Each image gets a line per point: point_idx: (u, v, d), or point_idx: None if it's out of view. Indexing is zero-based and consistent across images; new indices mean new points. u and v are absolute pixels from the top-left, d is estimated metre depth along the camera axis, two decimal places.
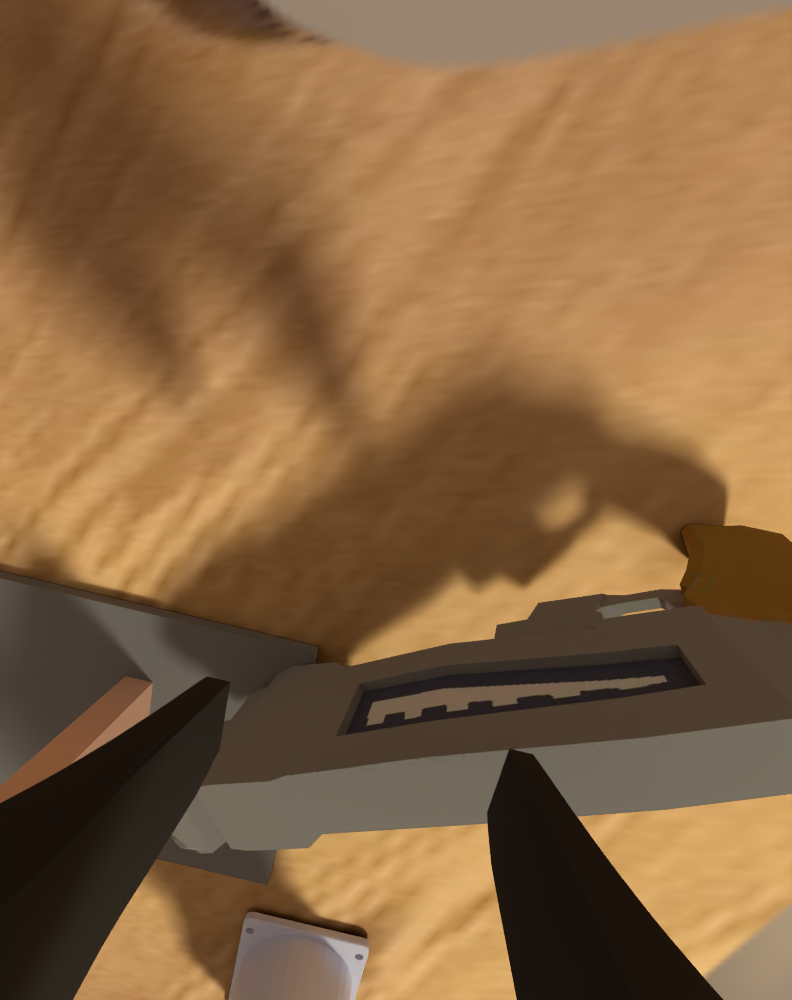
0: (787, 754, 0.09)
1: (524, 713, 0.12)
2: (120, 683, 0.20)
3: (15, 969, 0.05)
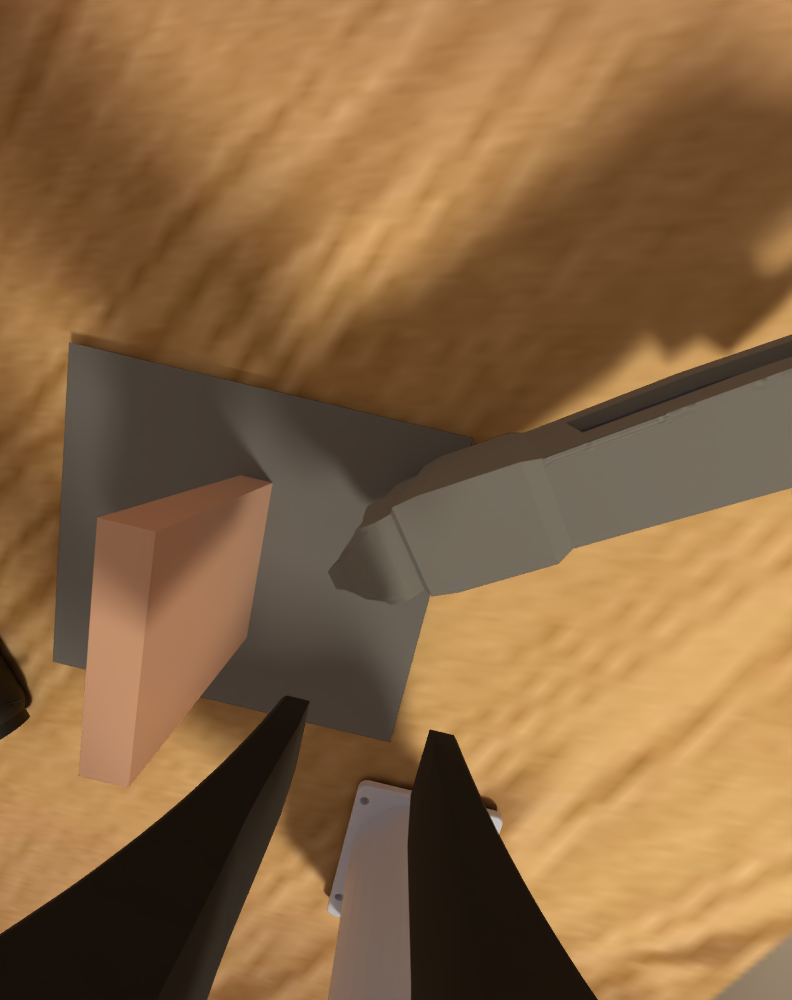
0: None
1: None
2: (237, 477, 0.17)
3: None
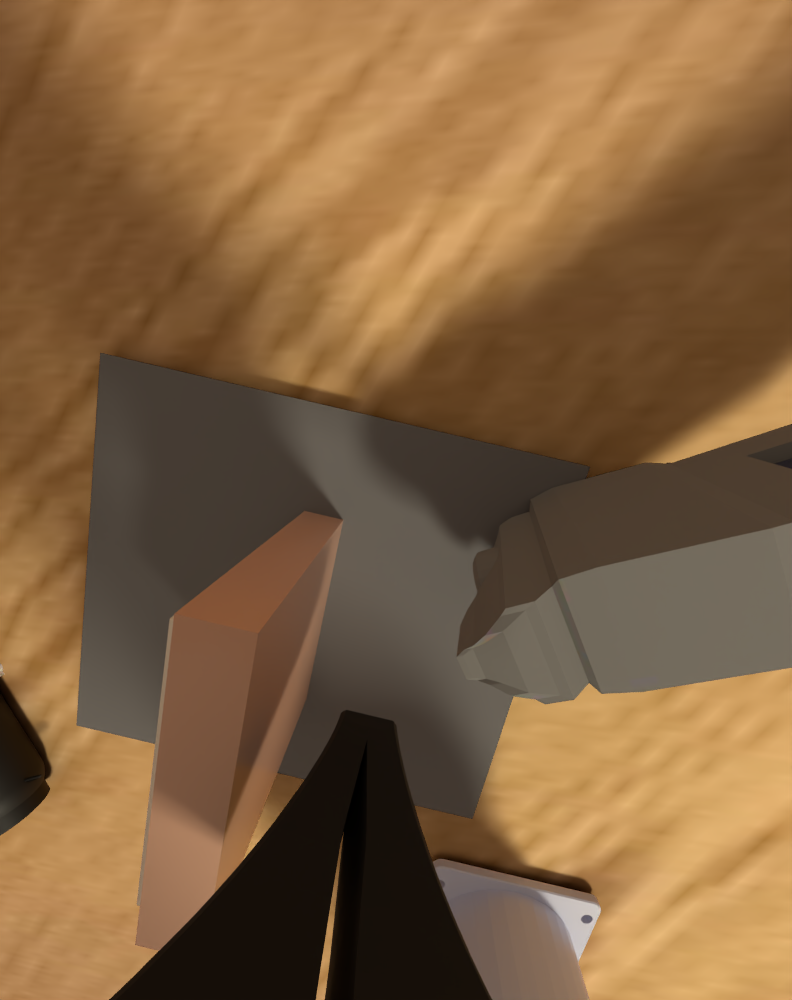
0: None
1: None
2: (303, 515, 0.14)
3: None
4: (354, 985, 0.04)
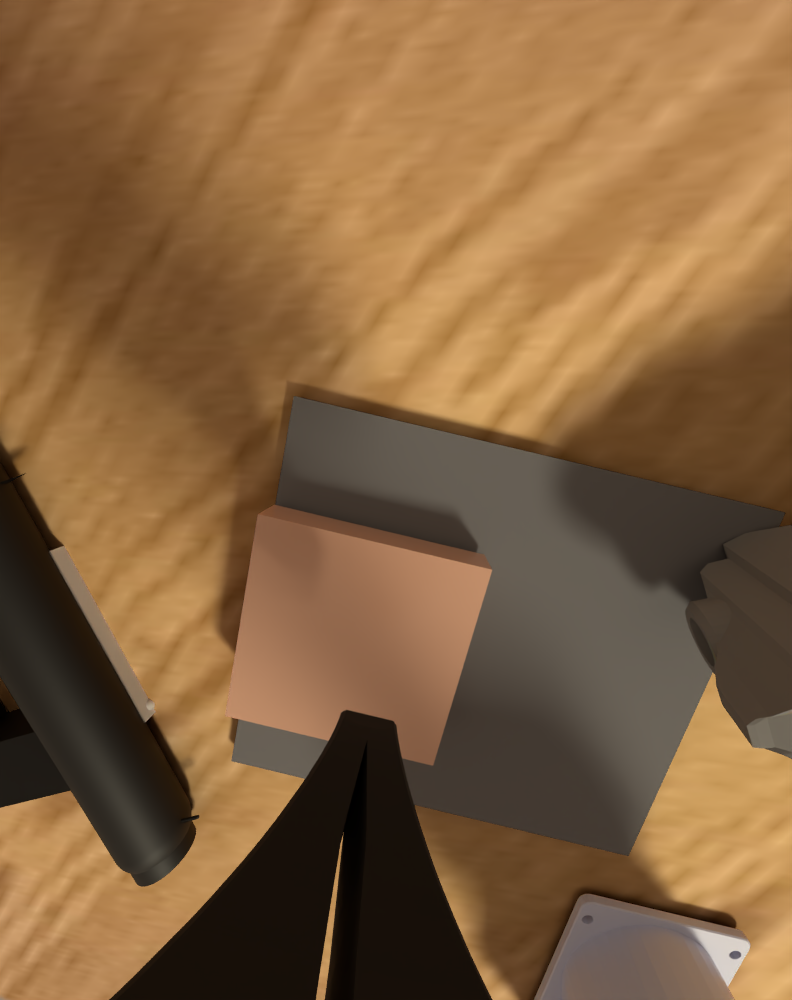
0: None
1: None
2: (470, 552, 0.14)
3: None
4: (354, 985, 0.04)
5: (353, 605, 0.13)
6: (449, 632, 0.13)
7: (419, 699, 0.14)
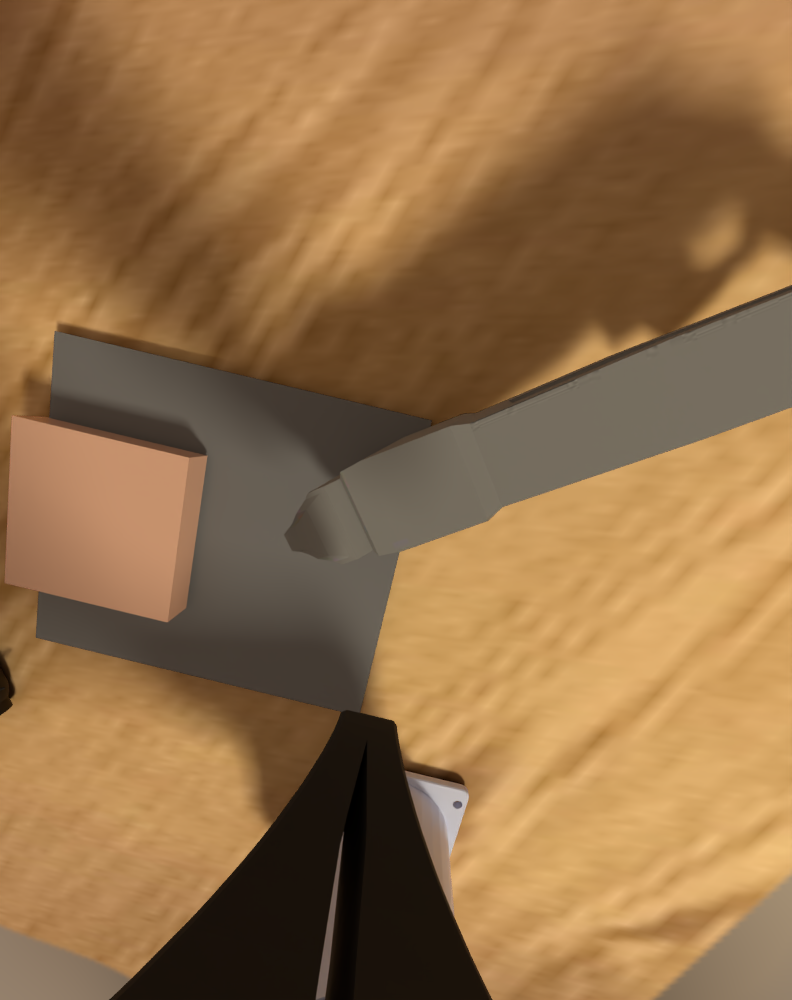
0: None
1: (783, 293, 0.10)
2: (195, 453, 0.18)
3: None
4: (354, 984, 0.04)
5: (90, 488, 0.17)
6: (164, 509, 0.17)
7: (149, 565, 0.18)
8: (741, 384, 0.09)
